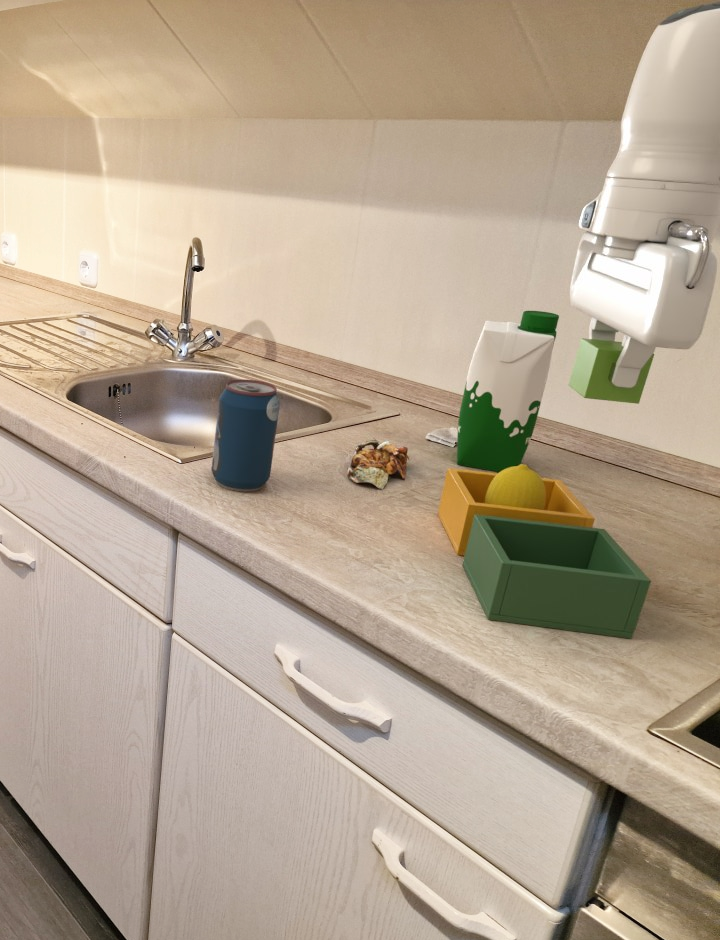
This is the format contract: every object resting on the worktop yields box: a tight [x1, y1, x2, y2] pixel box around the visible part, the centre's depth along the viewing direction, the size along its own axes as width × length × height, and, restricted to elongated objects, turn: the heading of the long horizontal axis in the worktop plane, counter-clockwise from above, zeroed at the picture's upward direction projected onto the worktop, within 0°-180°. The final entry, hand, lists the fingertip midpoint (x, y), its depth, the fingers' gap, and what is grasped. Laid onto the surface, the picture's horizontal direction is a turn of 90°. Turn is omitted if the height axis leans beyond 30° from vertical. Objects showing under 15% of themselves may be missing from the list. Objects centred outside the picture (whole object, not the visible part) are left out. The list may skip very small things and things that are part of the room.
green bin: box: [461, 514, 652, 640], centre depth 77 cm, size 12×11×6 cm
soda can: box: [210, 379, 281, 493], centre depth 100 cm, size 7×7×12 cm
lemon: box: [485, 463, 546, 510], centre depth 88 cm, size 6×6×8 cm
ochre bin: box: [437, 467, 596, 556], centre depth 89 cm, size 12×11×6 cm
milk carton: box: [456, 310, 560, 473], centre depth 109 cm, size 9×9×20 cm
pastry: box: [346, 437, 410, 490], centre depth 107 cm, size 7×12×4 cm, turn 156°
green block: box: [568, 338, 655, 405], centre depth 77 cm, size 4×4×4 cm
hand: (608, 377), depth 77 cm, fingers closed on green block, 4 cm apart
